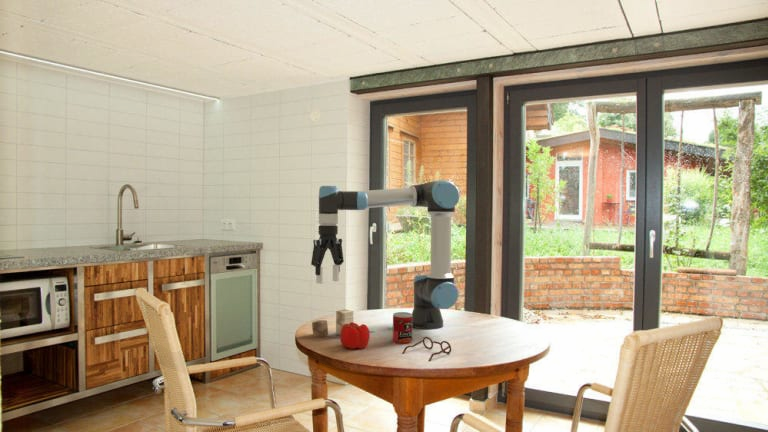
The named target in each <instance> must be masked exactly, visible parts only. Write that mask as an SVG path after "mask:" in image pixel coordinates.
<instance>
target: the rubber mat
mask: <svg viewBox="0 0 768 432" xmlns="http://www.w3.org/2000/svg"><path fill="white" fill-rule="evenodd" d="M369 333H370V334H373V333H375V331H374V330H369ZM326 337H328V338H333V339H337V340H340V336H336V332H334V333H330V334H328V335H327V336H326Z"/></svg>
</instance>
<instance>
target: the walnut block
mask: <svg viewBox="0 0 768 432" xmlns="http://www.w3.org/2000/svg"><path fill="white" fill-rule="evenodd" d="M311 326H312V336H313V338H315V337H316V338H325V337H327V335H329V330H328V329H329V327H328V320H323V319H320V320H315V321H313V322H311Z"/></svg>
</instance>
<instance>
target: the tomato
mask: <svg viewBox="0 0 768 432" xmlns="http://www.w3.org/2000/svg"><path fill="white" fill-rule="evenodd" d="M369 331H370V329H369V327H368V326H367V325H366V324H364V323H362V324H361V325H359V324H358V323H356V322H353V323H352V322H350V324H345V325H344V326H343V327H342V330H341V335H340V339H339V340H340V343H341V345H342V346H343V347H345V348H347V349H350V350H354V349H359V350H362V349H366V348H367V346H368V344H369V342H370V338H371V337H370V336H371V333H369Z"/></svg>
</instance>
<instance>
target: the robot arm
mask: <svg viewBox="0 0 768 432" xmlns="http://www.w3.org/2000/svg"><path fill="white" fill-rule="evenodd" d="M459 201H460V192H459V188H458V187H457V185H456V184H454V182H452V181H450V180H445V179H442V180H441V179H440V180H436V181H435V180H434V181H428V182H425V183H420V184H414V185H412V184H411V185H409V187H403V188H388V189H387V188H386V189H373V190H372V189H371V190H357V191H354V190H353V191H349V190H348V191H347V190H346V191H344V190H343V191H342V190H339V186H337V185H321V186H320V187H319V190H318V224H319V225H318V235H319V238H318V239H313V240H312V241H313V247H312V253H311V254H312V255H311V262H310V264H311V266H313V267H315V276H316V277H315V281H316V284H320V285H322V284H324V283H323V279H324V278H323V270H324V269H323V268H324V267H323V266H322V264H323V261H324V258H325V255H326V252H327V251H328V250H329V251H330V255H331V258H332V260H333V264H332V281H333V282H340V281H339V280H340V277H339V276H340V271H341V270H340V268H341V267H340V266H342V264H343V263H344V262H345V261H344V254H343V253H344V252H343V246H342V245H343V238H337V235H338V234H339V232H338V230H339V229H338V228H339V226H338V225H337V224H339V216H338V215H339V211H365V210H366V209H370V208H371V209H373V208H386V207H397V206H398V207H400V206H410V207H412V208H414V207H420V208H421V207H422V208H427V214H428V215H429V216H430V272H429V273H428V274H417V275H415V276H414V281H413V310H412V312H411V314H412V328H417V329H424V330H425V329H426V330H432V329H433V330H434V329H439V328H442V327H444V319H443V316H442V312H441V310H448V309H450V308H452V307H454V305H455V304H456V303H457V301H458V299H459V295H460V293H459V289H458V287H457V286H456V284H455V276H454V275H453V273H452V272H451V271H452V269H451V268H452V267H451V266H452V264H451V263H452V262H451V261H452V260H451V259H452V251H451V250H452V249H451V248H452V217H453V215H454V214H455V213H456V209H455V208H456V205H457V204H458V203H459Z"/></svg>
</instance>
